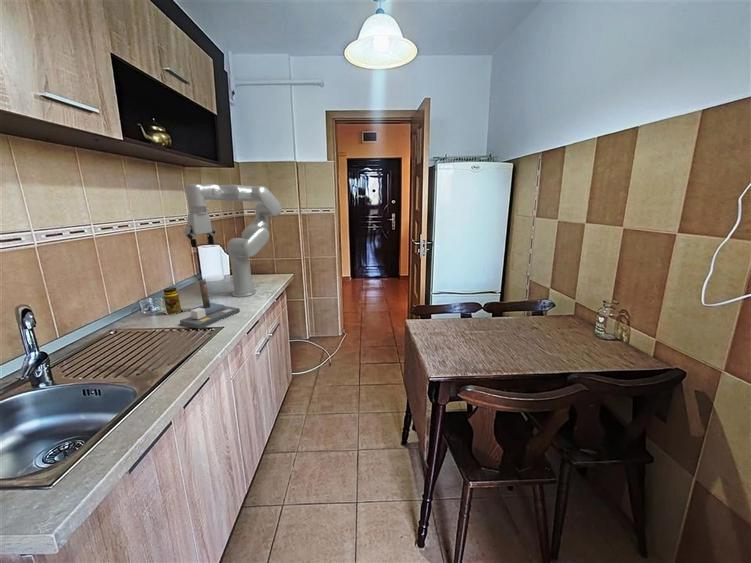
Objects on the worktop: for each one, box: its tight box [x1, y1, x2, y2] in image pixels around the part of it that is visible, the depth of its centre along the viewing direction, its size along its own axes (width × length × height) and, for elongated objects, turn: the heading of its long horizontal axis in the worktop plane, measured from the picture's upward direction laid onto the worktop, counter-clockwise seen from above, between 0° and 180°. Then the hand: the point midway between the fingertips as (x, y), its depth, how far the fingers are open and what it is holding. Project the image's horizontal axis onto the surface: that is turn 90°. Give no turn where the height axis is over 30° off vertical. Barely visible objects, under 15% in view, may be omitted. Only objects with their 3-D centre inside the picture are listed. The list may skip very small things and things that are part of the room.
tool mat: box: [188, 302, 225, 312], centre depth 167 cm, size 12×10×1 cm
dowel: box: [198, 278, 211, 308], centre depth 165 cm, size 3×3×14 cm
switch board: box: [179, 304, 241, 330], centre depth 153 cm, size 22×12×2 cm, turn 155°
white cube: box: [190, 307, 206, 319], centre depth 148 cm, size 4×4×4 cm
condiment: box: [163, 286, 186, 315], centre depth 162 cm, size 7×8×12 cm
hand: (203, 245), depth 166 cm, fingers open, 9 cm apart
